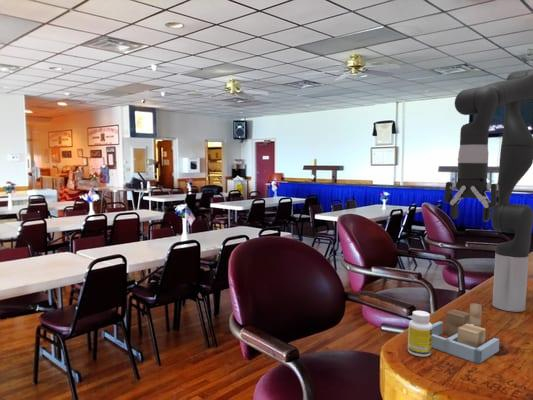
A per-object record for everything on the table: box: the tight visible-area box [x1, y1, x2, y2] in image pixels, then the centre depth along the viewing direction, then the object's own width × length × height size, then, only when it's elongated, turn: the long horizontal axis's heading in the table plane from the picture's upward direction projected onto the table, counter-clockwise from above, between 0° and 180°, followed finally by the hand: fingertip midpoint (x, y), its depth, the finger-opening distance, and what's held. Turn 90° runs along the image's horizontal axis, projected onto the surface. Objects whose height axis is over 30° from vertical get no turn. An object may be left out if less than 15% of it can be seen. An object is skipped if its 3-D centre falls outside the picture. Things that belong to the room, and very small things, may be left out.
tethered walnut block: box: [444, 302, 483, 337], centre depth 120 cm, size 14×5×6 cm, turn 130°
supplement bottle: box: [407, 310, 433, 358], centre depth 105 cm, size 5×5×10 cm
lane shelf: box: [431, 321, 500, 365], centre depth 109 cm, size 11×16×3 cm
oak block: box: [457, 324, 487, 348], centre depth 106 cm, size 5×5×6 cm
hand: (469, 219), depth 122 cm, fingers open, 8 cm apart
